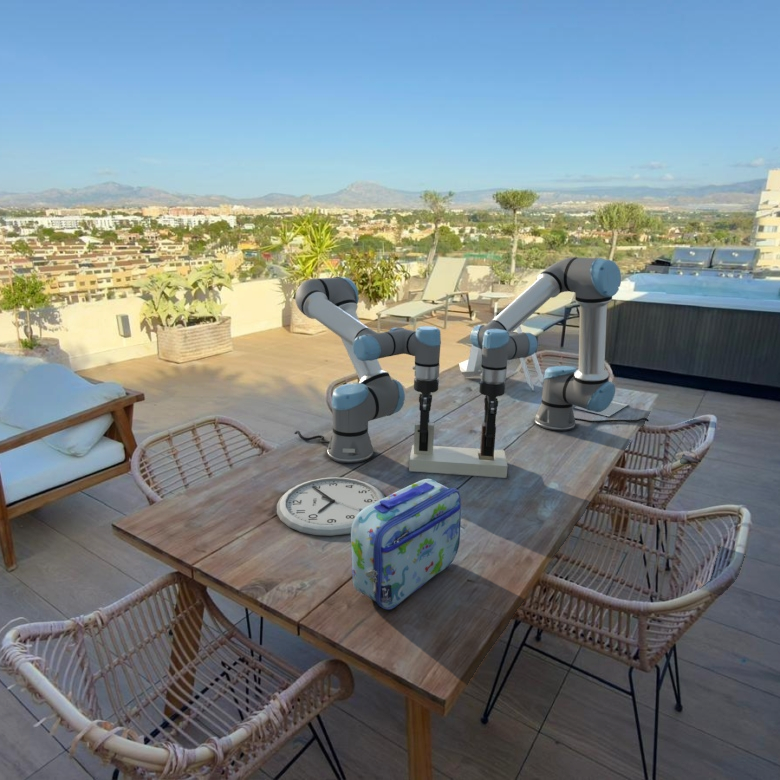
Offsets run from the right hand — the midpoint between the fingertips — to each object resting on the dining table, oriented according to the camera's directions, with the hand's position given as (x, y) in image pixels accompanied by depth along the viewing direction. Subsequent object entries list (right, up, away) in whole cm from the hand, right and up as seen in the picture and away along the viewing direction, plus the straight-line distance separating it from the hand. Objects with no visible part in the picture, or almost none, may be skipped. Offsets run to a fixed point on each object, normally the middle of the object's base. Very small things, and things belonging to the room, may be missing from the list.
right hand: (487, 451), depth 165 cm
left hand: (-20, +1, +2) cm, 20 cm away
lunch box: (-27, -22, -52) cm, 63 cm away
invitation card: (+61, +12, +61) cm, 87 cm away
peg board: (-9, -5, +3) cm, 11 cm away
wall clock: (-46, -12, -22) cm, 53 cm away
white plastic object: (+22, +22, +91) cm, 97 cm away
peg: (0, -1, 0) cm, 1 cm away
